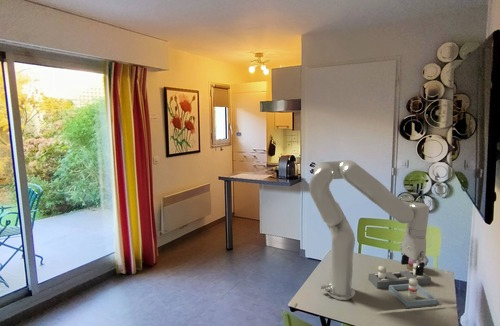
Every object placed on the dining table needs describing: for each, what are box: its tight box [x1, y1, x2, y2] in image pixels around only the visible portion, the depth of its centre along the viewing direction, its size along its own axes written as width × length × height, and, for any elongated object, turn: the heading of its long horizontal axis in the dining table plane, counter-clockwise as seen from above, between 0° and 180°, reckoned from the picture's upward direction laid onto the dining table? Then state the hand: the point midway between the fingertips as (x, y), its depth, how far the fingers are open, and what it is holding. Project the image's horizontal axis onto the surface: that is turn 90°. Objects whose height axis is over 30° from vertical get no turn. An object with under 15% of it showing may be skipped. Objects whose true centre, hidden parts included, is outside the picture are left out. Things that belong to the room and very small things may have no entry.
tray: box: [388, 284, 438, 310], centre depth 141 cm, size 14×14×3 cm
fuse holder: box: [367, 270, 432, 289], centre depth 153 cm, size 27×8×4 cm, turn 98°
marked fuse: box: [407, 278, 418, 300], centre depth 140 cm, size 3×3×8 cm
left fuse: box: [377, 265, 387, 280], centre depth 152 cm, size 3×3×8 cm
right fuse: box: [413, 263, 420, 277], centre depth 154 cm, size 3×3×8 cm
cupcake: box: [406, 258, 421, 271], centre depth 165 cm, size 9×9×10 cm
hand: (411, 269), depth 139 cm, fingers open, 9 cm apart
